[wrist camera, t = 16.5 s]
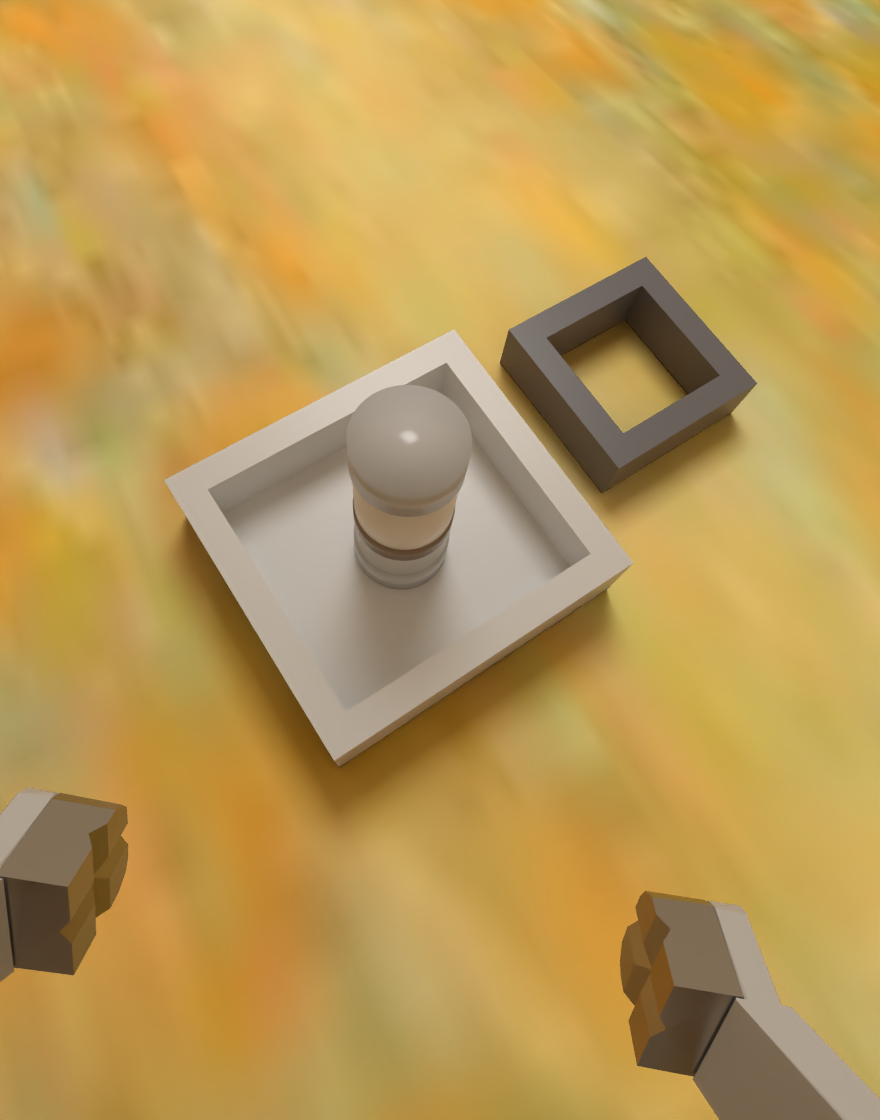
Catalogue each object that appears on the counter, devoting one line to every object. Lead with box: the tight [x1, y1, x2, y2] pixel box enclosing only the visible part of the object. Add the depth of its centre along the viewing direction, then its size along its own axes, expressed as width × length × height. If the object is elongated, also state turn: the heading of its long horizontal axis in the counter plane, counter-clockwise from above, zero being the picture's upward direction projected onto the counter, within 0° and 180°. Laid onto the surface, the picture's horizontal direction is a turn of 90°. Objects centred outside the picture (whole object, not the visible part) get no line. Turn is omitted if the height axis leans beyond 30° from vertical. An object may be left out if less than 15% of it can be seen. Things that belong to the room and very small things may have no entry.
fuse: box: [346, 385, 472, 589], centre depth 26 cm, size 4×4×9 cm
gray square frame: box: [500, 257, 757, 493], centre depth 34 cm, size 8×8×2 cm
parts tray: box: [164, 330, 633, 767], centre depth 30 cm, size 13×12×4 cm
